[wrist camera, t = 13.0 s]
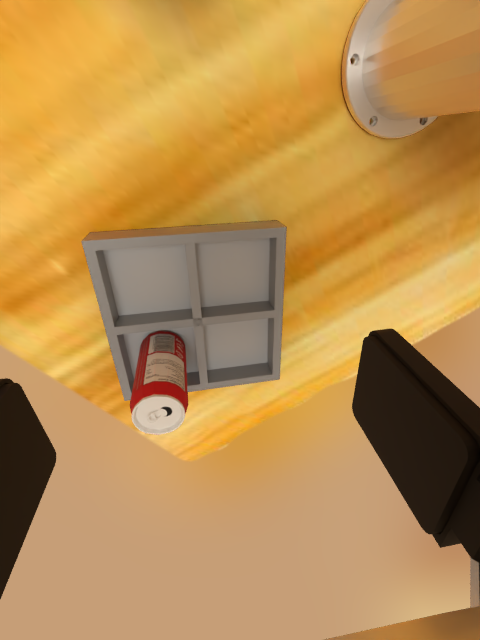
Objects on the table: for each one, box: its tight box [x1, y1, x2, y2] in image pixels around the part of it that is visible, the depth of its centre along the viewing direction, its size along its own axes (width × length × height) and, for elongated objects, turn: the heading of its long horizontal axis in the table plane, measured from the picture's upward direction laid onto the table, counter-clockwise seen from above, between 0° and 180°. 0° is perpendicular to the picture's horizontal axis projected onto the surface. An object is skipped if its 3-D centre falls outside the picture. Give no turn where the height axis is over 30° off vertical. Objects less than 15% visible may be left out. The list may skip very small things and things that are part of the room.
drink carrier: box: [82, 220, 286, 401], centre depth 37 cm, size 20×20×4 cm
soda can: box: [130, 331, 188, 435], centre depth 35 cm, size 6×6×12 cm
